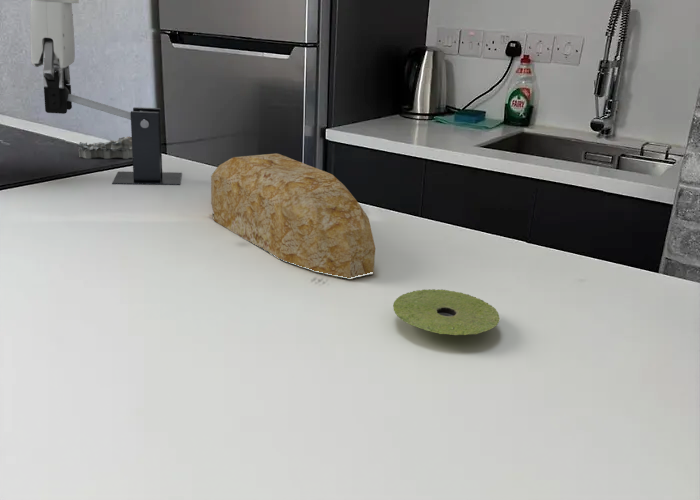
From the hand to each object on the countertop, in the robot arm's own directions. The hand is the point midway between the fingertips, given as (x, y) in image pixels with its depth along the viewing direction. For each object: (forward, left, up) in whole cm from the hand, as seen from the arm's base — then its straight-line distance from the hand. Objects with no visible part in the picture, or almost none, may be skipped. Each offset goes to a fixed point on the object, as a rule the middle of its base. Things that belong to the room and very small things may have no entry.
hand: (58, 109), depth 111 cm
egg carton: (+5, +18, -13) cm, 22 cm away
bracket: (+14, 0, -12) cm, 18 cm away
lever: (+6, 0, -1) cm, 6 cm away
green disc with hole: (+49, -57, -13) cm, 76 cm away
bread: (+34, -27, -13) cm, 46 cm away
